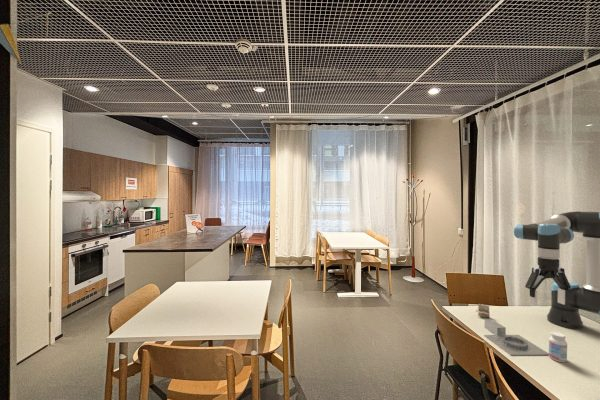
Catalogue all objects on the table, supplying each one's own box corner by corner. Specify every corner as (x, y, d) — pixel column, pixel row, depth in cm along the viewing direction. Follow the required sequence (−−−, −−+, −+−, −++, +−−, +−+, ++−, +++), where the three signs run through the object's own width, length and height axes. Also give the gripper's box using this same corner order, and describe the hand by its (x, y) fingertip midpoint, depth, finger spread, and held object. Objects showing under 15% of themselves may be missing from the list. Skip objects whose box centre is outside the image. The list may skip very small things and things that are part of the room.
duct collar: (504, 327, 158) (504, 319, 158) (549, 355, 130) (549, 345, 130) (472, 327, 157) (472, 319, 157) (510, 355, 129) (510, 345, 129)
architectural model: (489, 319, 168) (489, 307, 168) (475, 317, 172) (475, 305, 172) (489, 317, 171) (489, 305, 171) (475, 315, 175) (476, 303, 175)
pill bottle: (544, 355, 129) (545, 331, 129) (557, 354, 130) (557, 330, 130) (558, 363, 123) (558, 337, 123) (570, 362, 124) (571, 337, 124)
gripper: (564, 255, 134) (564, 300, 134) (516, 256, 132) (515, 301, 132) (581, 259, 127) (581, 306, 127) (530, 259, 125) (529, 307, 125)
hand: (547, 303), depth 130 cm, fingers open, 13 cm apart
